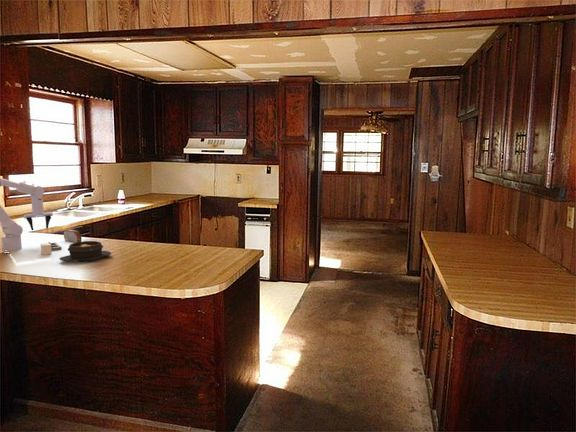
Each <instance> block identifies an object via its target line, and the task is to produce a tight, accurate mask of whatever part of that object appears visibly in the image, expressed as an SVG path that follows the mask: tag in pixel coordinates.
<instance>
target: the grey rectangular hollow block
mask: <svg viewBox="0 0 576 432" xmlns="http://www.w3.org/2000/svg"><path fill="white" fill-rule="evenodd" d="M47 243H49V244H51V252H52V251H61V250H62V249H63V248H62V246H61V245H60V244H58V243H57V242H47Z"/></svg>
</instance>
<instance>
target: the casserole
mask: <svg viewBox="0 0 576 432" xmlns="http://www.w3.org/2000/svg"><path fill="white" fill-rule="evenodd" d="M103 248H104V246H103V244H102V243H101V241H96V240H86V241H85V240H84V241H81V242H73V243H70V244H69V246H68V248H67V251H68V253H69V255H64V256H61V257H60V258H59V260H60V261H62V262H67V263H69V262H77V261H79V262H78V263H85V262H84V261H88V262H92V261H96V260H98V259H100V258H104V257H107V256H111V254H112V252H110V251H109V250H103Z"/></svg>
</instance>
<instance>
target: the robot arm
mask: <svg viewBox="0 0 576 432" xmlns="http://www.w3.org/2000/svg"><path fill="white" fill-rule="evenodd" d="M3 186H4V187H8V188H13V189H16V191H17V192H18V193H23V194H26V195H30V198H31V199H30V200H31V211H32V213H27V214H23V219H25V220H27V223H28V224H29V226H30V228H31V229H30V230H31V231H34V225H33V218H44V219H45V229H47V230H48V229H49V224H50V221H51V219H52V217H53V216H54V215H53V212H45V211H44V200H43V196H44V194H45V190H44V188H43V187H42V186H38V185H35V184H34V183H27V181H20V182H15V181H12V180H9V179H5V178H1V177H0V187H3ZM0 227H1V230H2V232H3V234H4V235H5V236H2V237H1V238H0V239H1V240H0V241H1V242H0V243H1V251H3V252H10V251H19V250H22V249H23V247H22V244H23V243H22V234H23V231H24V230H23V226H21V225H20V224H18V223H17V222H16V221H14V220H13V219H12V218H11V217H10V216H9V214H8V213H7V212H6V210H5V209H4V207H2V205H1V204H0ZM5 250H7V251H5ZM3 252H2V253H3Z"/></svg>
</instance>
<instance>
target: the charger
mask: <svg viewBox="0 0 576 432" xmlns="http://www.w3.org/2000/svg"><path fill="white" fill-rule="evenodd" d="M40 252H41V254H42V255H43V256H46V255H52V251H51V244H49V243H48V242H47V243H40Z"/></svg>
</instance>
